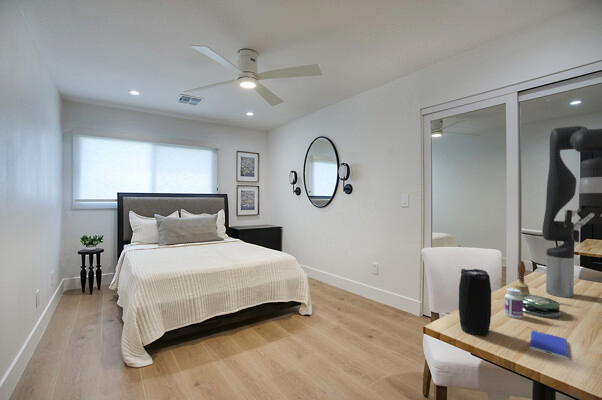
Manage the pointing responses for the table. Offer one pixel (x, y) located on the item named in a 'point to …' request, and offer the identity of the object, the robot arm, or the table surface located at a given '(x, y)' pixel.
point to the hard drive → (549, 344)
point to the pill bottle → (513, 303)
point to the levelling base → (540, 306)
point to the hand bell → (522, 280)
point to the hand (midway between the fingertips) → (595, 242)
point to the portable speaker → (475, 301)
